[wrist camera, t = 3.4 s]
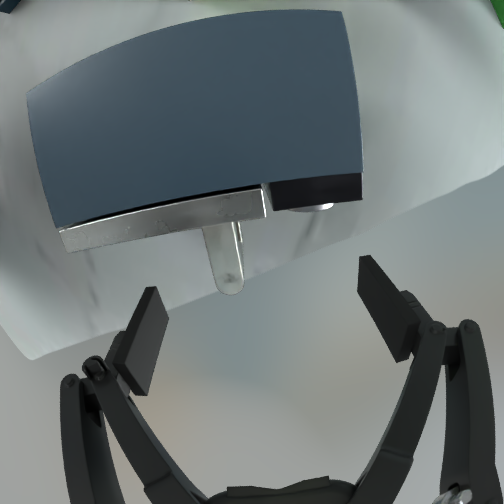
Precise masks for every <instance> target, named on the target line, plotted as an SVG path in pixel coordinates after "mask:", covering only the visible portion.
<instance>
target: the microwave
mask: <svg viewBox="0 0 504 504" xmlns="http://www.w3.org/2000/svg"><path fill="white" fill-rule="evenodd" d="M26 97H27V107H28V115H29V123H30V129H31V135H32V141H33V146H34V151H35V156H36V161H37V165H38V169H39V173H40V177H41V181H42V185H43V188H44V192H45V196H46V199H47V202H48V205H49V209H50V212H51V215H52V218H53V221H54V224H55V226H56V228H59V227H62V226H66V225H69V224H73V223H76V222H80V221H83V220H87V219H91V218H94V217H98V216H102V215H106V214H110V213H114V212H118V211H122V210H126V209H130V208H135V207H139V206H143V205H148V204H152V203H157V202H161V201H166V200H171V199H176V198H181V197H186V196H191V195H196V194H202V193H207V192H213V191H218V190H224V189H230V188H236V187H242V186H249V185H255V184H262V183H263V184H264V187H265V189H266V192H267V195H268V198H269V200H270V203H271V206H272V208H273V211H279V210H286V209H287V210H290V211H295V212H316V211H321V210H325V209H327V208H330V207H331V206H332V205H333V204H334V203H341V202H349V201H358V200H363V183H362V172H364V164H363V146H362V133H361V122H360V112H359V103H358V95H357V88H356V81H355V74H354V68H353V62H352V57H351V51H350V46H349V41H348V36H347V32H346V27H345V23H344V19H343V15H342V12H340V11H327V10H268V11H254V12H244V13H236V14H229V15H222V16H216V17H210V18H205V19H200V20H195V21H191V22H186V23H182V24H178V25H174V26H171V27H167V28H163V29H160V30H157V31H153V32H150V33H147V34H144V35H141V36H138V37H135V38H133V39H130V40H127V41H125V42H122V43H119V44H117V45H114V46H112V47H110V48H107V49H105V50H103V51H100V52H98V53H96V54H94V55H92V56H90V57H87V58H85V59H83V60H81V61H79V62H77V63H76V64H74V65H72V66H70V67H68V68H66V69H64V70H63V71H61V72H59V73H57V74H56V75H54V76H52V77H51V78H49V79H47V80H46V81H44V82H42V83H41V84H39V85H38V86H36V87H35V88H33V89H32V90H30V91H29V92H27V93H26Z"/></svg>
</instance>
